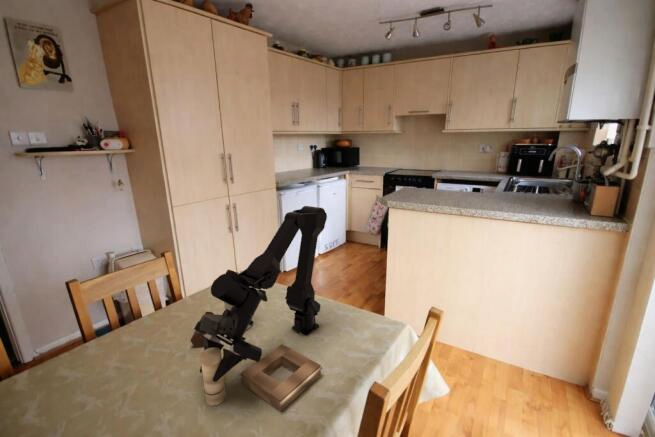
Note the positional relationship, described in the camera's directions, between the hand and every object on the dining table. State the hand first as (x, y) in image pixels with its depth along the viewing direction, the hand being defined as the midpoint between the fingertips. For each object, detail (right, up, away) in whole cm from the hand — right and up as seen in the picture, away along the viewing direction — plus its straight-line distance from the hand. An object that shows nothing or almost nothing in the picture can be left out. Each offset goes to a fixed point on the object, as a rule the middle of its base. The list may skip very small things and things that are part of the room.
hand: (207, 377), depth 70 cm
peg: (+1, -6, +3) cm, 7 cm away
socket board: (+16, -5, +8) cm, 18 cm away
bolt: (-11, -1, +28) cm, 30 cm away
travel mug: (-2, 0, +31) cm, 31 cm away
